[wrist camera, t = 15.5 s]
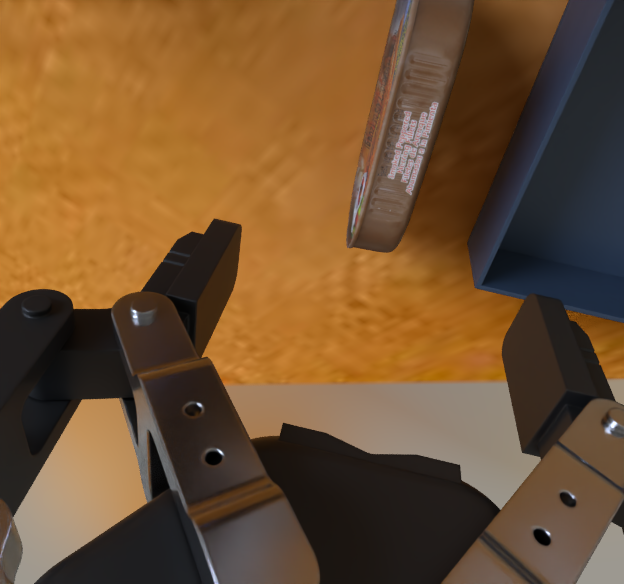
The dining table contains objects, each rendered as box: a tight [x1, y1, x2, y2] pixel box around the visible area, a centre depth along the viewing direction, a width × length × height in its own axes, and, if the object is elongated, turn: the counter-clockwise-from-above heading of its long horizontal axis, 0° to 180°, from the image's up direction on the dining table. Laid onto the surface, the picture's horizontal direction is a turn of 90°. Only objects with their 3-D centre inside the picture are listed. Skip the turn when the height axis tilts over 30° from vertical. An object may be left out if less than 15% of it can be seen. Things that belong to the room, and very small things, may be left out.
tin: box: [346, 0, 474, 252], centre depth 26 cm, size 15×3×8 cm, turn 170°
